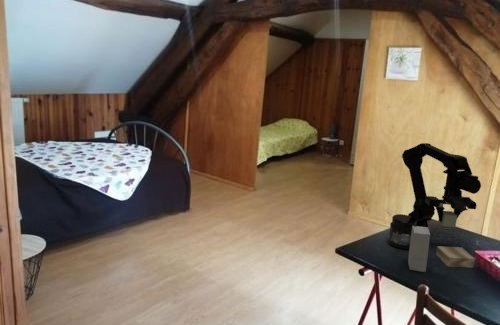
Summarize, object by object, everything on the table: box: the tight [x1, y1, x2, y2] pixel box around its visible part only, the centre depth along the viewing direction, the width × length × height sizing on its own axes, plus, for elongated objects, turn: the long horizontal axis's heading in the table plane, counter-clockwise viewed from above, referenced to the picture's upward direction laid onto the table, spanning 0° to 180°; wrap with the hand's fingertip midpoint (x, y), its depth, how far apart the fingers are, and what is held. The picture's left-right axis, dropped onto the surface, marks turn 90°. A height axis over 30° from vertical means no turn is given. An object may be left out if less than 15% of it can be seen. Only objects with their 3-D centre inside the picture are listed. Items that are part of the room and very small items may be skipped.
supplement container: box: [387, 213, 417, 250], centre depth 168 cm, size 10×10×12 cm
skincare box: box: [407, 226, 431, 273], centre depth 149 cm, size 8×6×15 cm
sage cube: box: [437, 210, 458, 228], centre depth 167 cm, size 5×5×5 cm
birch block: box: [435, 245, 476, 269], centre depth 156 cm, size 10×10×4 cm
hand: (447, 221), depth 167 cm, fingers closed on sage cube, 5 cm apart
